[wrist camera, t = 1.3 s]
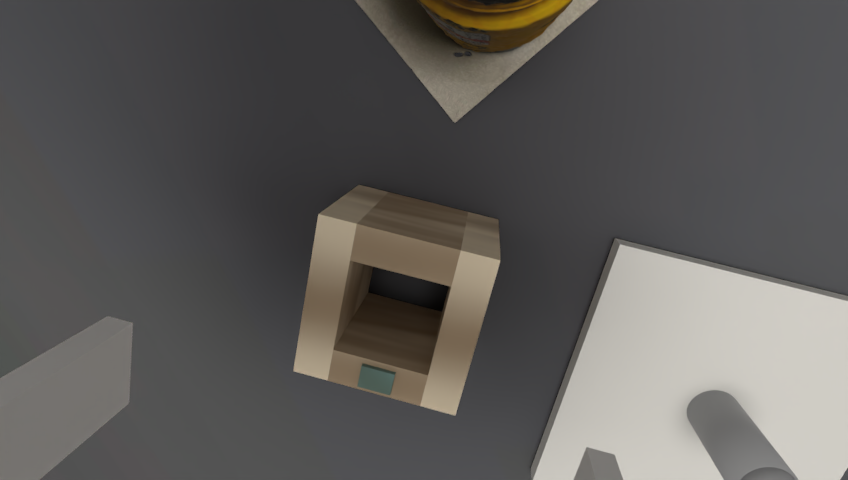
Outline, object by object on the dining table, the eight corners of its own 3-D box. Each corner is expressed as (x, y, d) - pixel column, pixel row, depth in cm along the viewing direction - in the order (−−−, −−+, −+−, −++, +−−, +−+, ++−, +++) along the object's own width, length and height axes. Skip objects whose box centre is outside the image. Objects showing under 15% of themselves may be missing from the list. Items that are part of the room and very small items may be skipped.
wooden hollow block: (358, 184, 24) (316, 215, 18) (498, 219, 24) (500, 262, 18) (336, 310, 26) (291, 373, 21) (463, 344, 26) (455, 418, 20)
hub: (614, 237, 23) (664, 298, 17) (918, 313, 23) (1099, 409, 16) (530, 469, 28) (543, 590, 21) (782, 539, 27) (878, 689, 20)
